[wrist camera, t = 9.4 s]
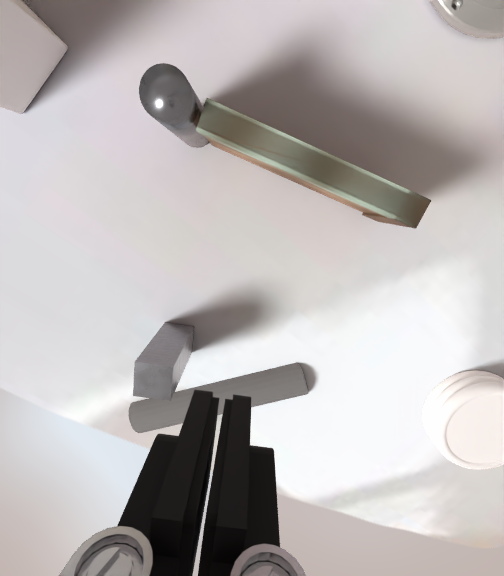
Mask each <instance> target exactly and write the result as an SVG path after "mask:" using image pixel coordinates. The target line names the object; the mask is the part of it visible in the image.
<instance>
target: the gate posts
mask: <svg viewBox="0 0 504 576" xmlns="http://www.w3.org/2000/svg"><path fill="white" fill-rule="evenodd" d="M139 95H140V100H141V103H142V105H143V107H144V108H145V110H146V111H147V112H148V113H149V114H150V115H151V116H152V117H153V118H155V119H156V120H157V121H158V122H160V123H161V124H162V125H163V126H165V127H166V128H167V129H169V130H170V131H171V132H172V133H174V134H175V135H176V136H177V137H179V138H180V139H181V140H182V141H184V142H185V143H186V144H188V145H189V146H191V147H196V148H198V147H203V146H205V145H206V144H208V143H209V141H208V139H207V138H206V137H205V136H203V135H201V134H199V133H198V132H197V131H196V128H197V125H198V122H199V119H200V116H201V114H202V111H203V108H204V107H203V106H202V104H201V102H200V100H199V99H198V97H197V95H196V94H195V92H194V90H193V89H192V87H191V85H190V83H189V82H188V80H187V78H186V77H185V75H184V74H183V73H182V72H181V71H180V70H179V69H178V68H176V67H175V66H173V65H170V64H164V63H163V64H156V65H154V66H152V67H150V68H149V69H148V70H147V71H146V72H145V73H144V75H143V77H142V79H141V81H140V86H139ZM193 333H194V326H189V325H181V324H174V323H167V322H165V323H164V324H163V326H162V327H161V328H160V330H159V331H158V332H157V334H156V335H155V336H154V338H153V339H152V340H151V341H150V343H149V344H148V345H147V347H146V348H145V349H144V351H143V352H142V353H141V355H140V356H139V357H138V358H137V360H136V361H135V368H134V389H133V396H139V397H146V398H154V399H162V400H169V401H171V399H172V396H173V394H174V392H175V389H176V387H177V385H178V383H179V380H180V378H181V376H182V373H183V371H184V369H185V367H186V364H187V362H188V360H189V357H190V355H191V353H192V343H193Z"/></svg>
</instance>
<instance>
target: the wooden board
mask: <svg viewBox="0 0 504 576" xmlns="http://www.w3.org/2000/svg"><path fill="white" fill-rule="evenodd" d="M196 131H197V132H198V133H199V134H201V135H203V136H205V137H206V138H207V139H208V141H209V142H210V143H211V144H212V145H213V146H215V147H217V148H219V149H222V150H224V151H226V152H228V153H231V154H233V155H235V156H237V157H240V158H242V159H244V160H246V161H249V162H251V163H253V164H255V165H258V166H260V167H262V168H264V169H267V170H269V171H271V172H273V173H276V174H278V175H280V176H282V177H285V178H287V179H289V180H291V181H294V182H296V183H298V184H300V185H303V186H305V187H307V188H309V189H312V190H314V191H316V192H318V193H321V194H323V195H325V196H327V197H330V198H332V199H334V200H336V201H339V202H341V203H343V204H345V205H348V206H350V207H352V208H354V209H357V210H359V211H361V212H363V214H362V215H364V216H366V217H369V218H371V219H373V220H375V221H378V222H383V223H389V224H394V225H400V226H406V227H411V228H416V227H417V226H418V224H419V222H420V220H421V218H422V216H423V215H424V213H425V211H426V209H427V207H428V205H429V204H430V202H431V200H430V199H427V198H425V197H423V196H421V195H419V194H416V193H414V192H412V191H410V190H408V189H406V188H403V187H401V186H399V185H397V184H395V183H392V182H390V181H388V180H386V179H384V178H381V177H379V176H377V175H375V174H373V173H371V172H368V171H366V170H364V169H362V168H360V167H357V166H355V165H353V164H351V163H349V162H346V161H344V160H342V159H340V158H338V157H336V156H333V155H331V154H329V153H327V152H325V151H322V150H320V149H318V148H316V147H314V146H311V145H309V144H307V143H305V142H303V141H301V140H298V139H296V138H294V137H292V136H290V135H287V134H285V133H283V132H281V131H279V130H276V129H274V128H272V127H270V126H268V125H265V124H263V123H261V122H259V121H257V120H255V119H252V118H250V117H248V116H246V115H244V114H241V113H239V112H237V111H235V110H233V109H230V108H228V107H226V106H224V105H222V104H220V103H217V102H215V101H213V100H211V99H209V98H207V99H206V102H205V105H204V108H203V111H202V114H201V116H200V119H199V122H198V125H197V128H196Z"/></svg>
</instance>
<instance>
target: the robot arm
mask: <svg viewBox="0 0 504 576" xmlns="http://www.w3.org/2000/svg"><path fill="white" fill-rule="evenodd" d="M430 1H431V4H432V5H433V7H434V8H435V10H436V11H437V12H438V14H439V15H440V17H441V18H442V19H444V20H445V21H446V22H447V23H448V24H449V25H450V26H451V27H453V28H455V29H456V30H458V31H460V32H462V33H464V34H467V35H470V36H474V37H477V38H498V37H504V0H430ZM218 407H219V398H217V397H213V392H211V391H204V390H196V389H195V390H194V393H193V396H192V399H191V402H190V405H189V407H188V410H187V413H186V416H185V419H184V422H183V425H182V428H181V431H180V434H179V436H173V435H166V434H158V435H157V436H156V438H155V440H154V442H153V445H152V447H151V449H150V452H149V454H148V456H147V459H146V461H145V463H144V466H143V468H142V470H141V473H140V475H139V477H138V480H137V482H136V484H135V486H134V489H133V491H132V493H131V496H130V498H129V500H128V503H127V505H126V507H125V510H124V512H123V514H122V517H121V519H120V521H119V524H118V526H117V527H112V528H107V529H105V530H103V531H100V532H98V533H96V534H94V535H93V536H92V537H91V538H89V539H88V540H86V541H85V542H84V543H83V544H82V545H81V546H80V547H79V548H78V549H77V551H76V552H75V553H74V554H73V555H72V557H71V558H70V560H69V561H68V563H67V564H66V566H65V567H64V569H63V570H62V572H61V573H60V575H59V576H192V574H193V569H194V563H195V557H196V552H197V546H198V540H199V534H200V529H201V523H202V517H203V512H204V506H205V500H206V495H207V489H208V483H209V477H210V469H211V462H212V454H213V446H214V438H215V430H216V422H217V415H218ZM250 423H251V397H249V396H242V395H234V394H233V399H225V404H224V410H223V416H222V422H221V428H220V434H219V440H218V446H217V452H216V458H215V464H214V470H213V476H212V482H211V488H210V494H209V500H208V506H207V512H206V519H205V525H204V533H203V541H202V548H201V556H200V563H199V571H198V576H306V575H305V572H304V570H303V568H302V567H301V566H300V564H299V563H298V561H297V560H296V559H295V558H294V557H293V556H292V555H291V554H289V553H288V552H287V551H286V550H284V549H282V548H280V542H279V524H278V510H277V509H278V508H277V492H276V477H275V461H274V450H273V448H266V447H258V446H251V445H250Z"/></svg>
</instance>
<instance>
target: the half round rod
mask: <svg viewBox="0 0 504 576" xmlns="http://www.w3.org/2000/svg"><path fill="white" fill-rule="evenodd" d="M195 389H196V390H204V391H211V392H213V397H217V398H219V407H218V415H220V414H223V410H224V404H225V399H233V394H234V395H242V396H249V397H251V407H254V406H259V405H263V404H267V403H272V402H276V401H280V400H284V399H289V398H293V397H297V396H302V395H306V394H308V387H307V383H306V380H305V376H304V373H303V371H302V368H301V367H300V365H299V363H293V364H289V365H285V366H281V367H277V368H273V369H269V370H264V371H260V372H256V373H252V374H248V375H244V376H240V377H236V378H232V379H227V380H223V381H219V382H215V383H211V384H207V385H203V386H199V387H195V388H190V389H186V390H182V391H178V392H174V394H173V396H172V399H171V401H169V400H162V399H154V398H149V399H145V400H141V401H137V402H133V403H131V405H130V408H129V420H130V423H131V426H132V428H133V429H134V430H135V431H136V432H138V433H143V432H147V431H151V430H156V429H160V428H164V427H169V426H173V425H177V424H181V423H183V422H184V419H185V416H186V413H187V410H188V407H189V405H190V402H191V399H192V396H193V393H194V390H195Z"/></svg>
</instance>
